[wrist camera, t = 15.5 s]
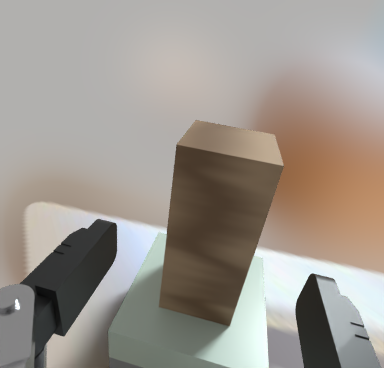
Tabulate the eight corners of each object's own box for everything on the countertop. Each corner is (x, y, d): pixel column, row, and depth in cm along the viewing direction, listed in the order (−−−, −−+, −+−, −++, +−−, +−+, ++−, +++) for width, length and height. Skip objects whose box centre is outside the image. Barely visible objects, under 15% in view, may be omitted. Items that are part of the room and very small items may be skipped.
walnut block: (233, 271, 22) (274, 134, 16) (229, 326, 17) (284, 165, 11) (176, 256, 22) (196, 120, 16) (158, 306, 18) (176, 144, 12)
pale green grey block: (247, 300, 26) (262, 257, 23) (245, 423, 18) (269, 379, 15) (154, 275, 27) (158, 232, 25) (109, 379, 19) (107, 330, 16)
